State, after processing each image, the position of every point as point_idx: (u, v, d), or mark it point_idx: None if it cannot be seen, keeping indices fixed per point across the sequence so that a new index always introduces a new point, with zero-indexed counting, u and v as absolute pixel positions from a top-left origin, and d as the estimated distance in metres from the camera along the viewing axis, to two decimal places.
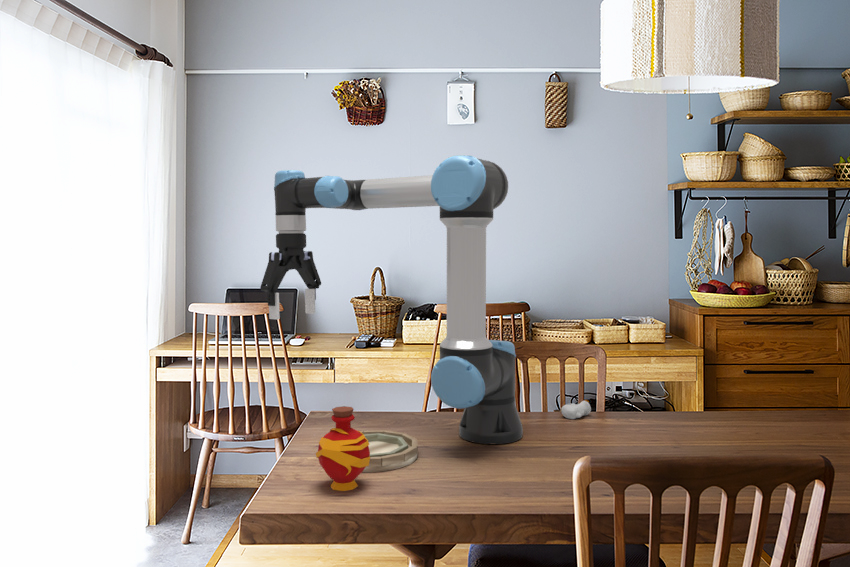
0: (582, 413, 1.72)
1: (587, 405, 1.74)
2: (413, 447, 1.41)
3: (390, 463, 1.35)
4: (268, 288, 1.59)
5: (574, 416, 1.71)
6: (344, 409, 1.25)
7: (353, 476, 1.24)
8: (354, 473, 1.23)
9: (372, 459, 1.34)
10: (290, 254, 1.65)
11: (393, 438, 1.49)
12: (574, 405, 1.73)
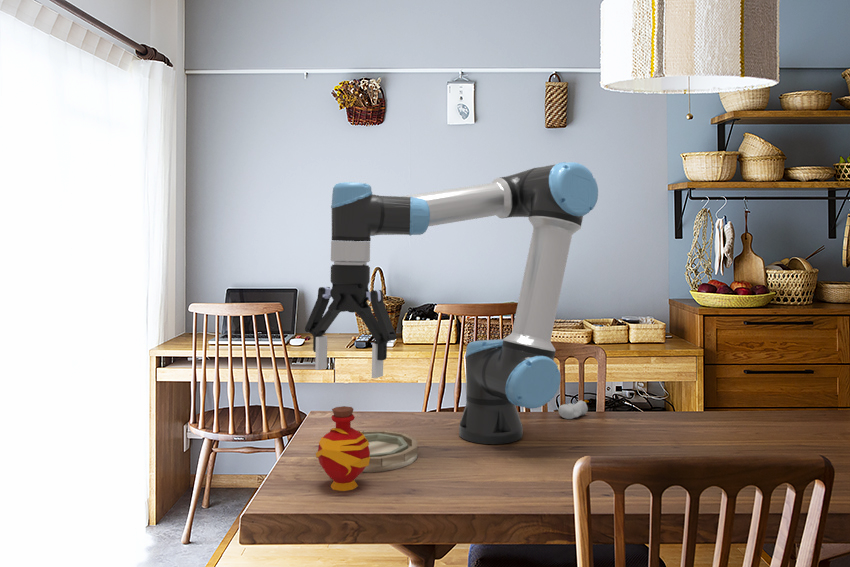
0: (579, 413, 1.72)
1: (584, 405, 1.74)
2: (413, 447, 1.41)
3: (390, 463, 1.35)
4: (305, 329, 1.32)
5: (572, 416, 1.71)
6: (344, 409, 1.25)
7: (353, 476, 1.24)
8: (354, 473, 1.23)
9: (372, 459, 1.34)
10: (339, 291, 1.27)
11: (393, 438, 1.49)
12: (571, 405, 1.73)
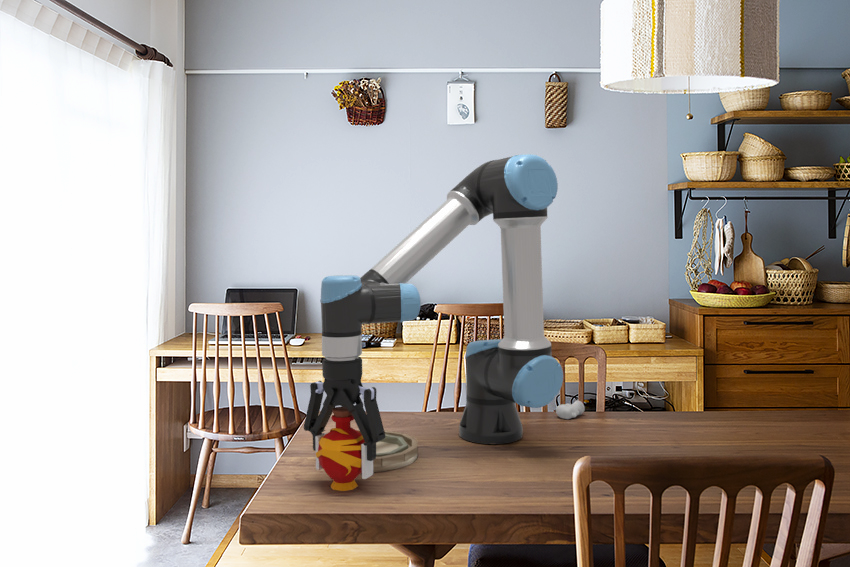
0: (577, 413, 1.72)
1: (581, 405, 1.74)
2: (413, 447, 1.41)
3: (390, 463, 1.35)
4: (304, 428, 1.29)
5: (569, 416, 1.71)
6: (344, 409, 1.25)
7: (353, 476, 1.24)
8: (354, 473, 1.23)
9: None
10: (331, 384, 1.25)
11: (393, 438, 1.49)
12: (569, 405, 1.73)
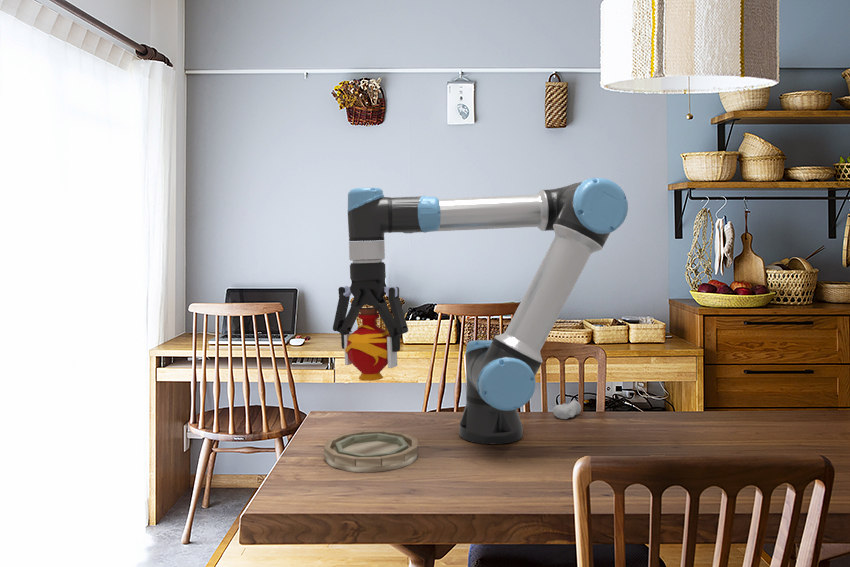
0: (574, 413, 1.72)
1: (578, 405, 1.74)
2: (413, 447, 1.41)
3: (390, 463, 1.35)
4: (333, 328, 1.43)
5: (567, 416, 1.71)
6: (370, 308, 1.40)
7: (379, 367, 1.39)
8: (380, 364, 1.38)
9: (372, 459, 1.34)
10: (358, 286, 1.40)
11: (393, 438, 1.49)
12: (566, 405, 1.73)
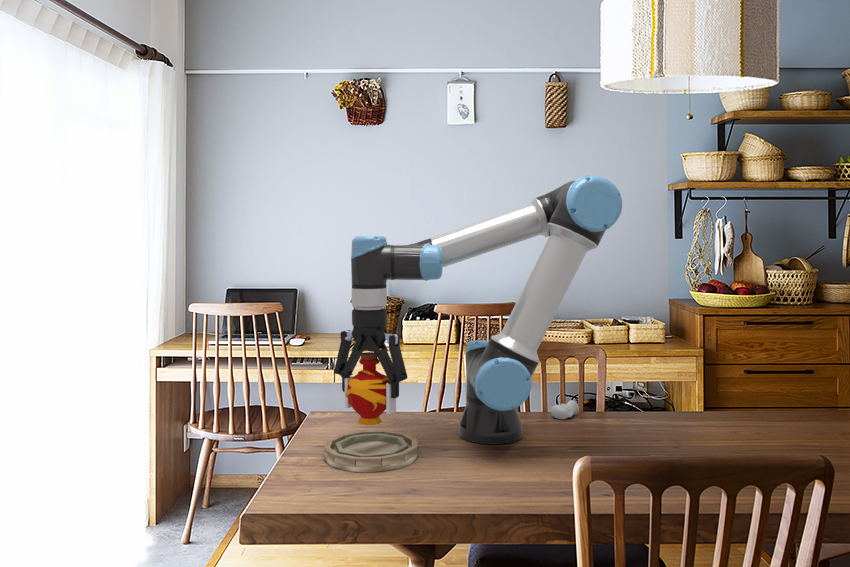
0: (572, 413, 1.72)
1: (575, 404, 1.74)
2: (413, 447, 1.41)
3: (390, 463, 1.35)
4: (334, 371, 1.46)
5: (565, 416, 1.71)
6: (370, 354, 1.42)
7: (378, 412, 1.41)
8: (379, 409, 1.40)
9: (372, 459, 1.34)
10: (360, 331, 1.42)
11: (393, 438, 1.49)
12: (564, 405, 1.73)
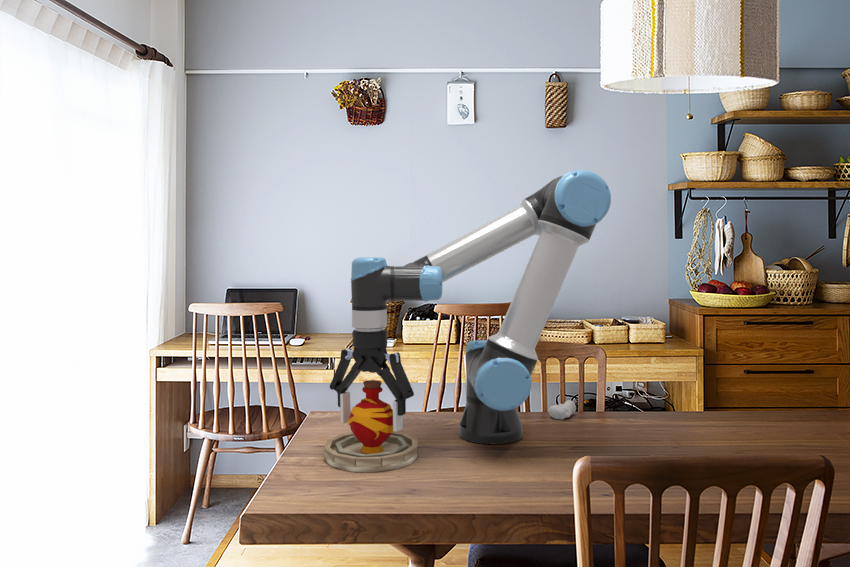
0: (570, 413, 1.72)
1: (573, 404, 1.75)
2: (413, 447, 1.41)
3: (390, 463, 1.35)
4: (330, 387, 1.47)
5: (564, 416, 1.71)
6: (373, 382, 1.43)
7: (380, 441, 1.41)
8: (381, 438, 1.41)
9: (372, 459, 1.34)
10: (360, 354, 1.42)
11: (393, 438, 1.49)
12: (562, 405, 1.73)
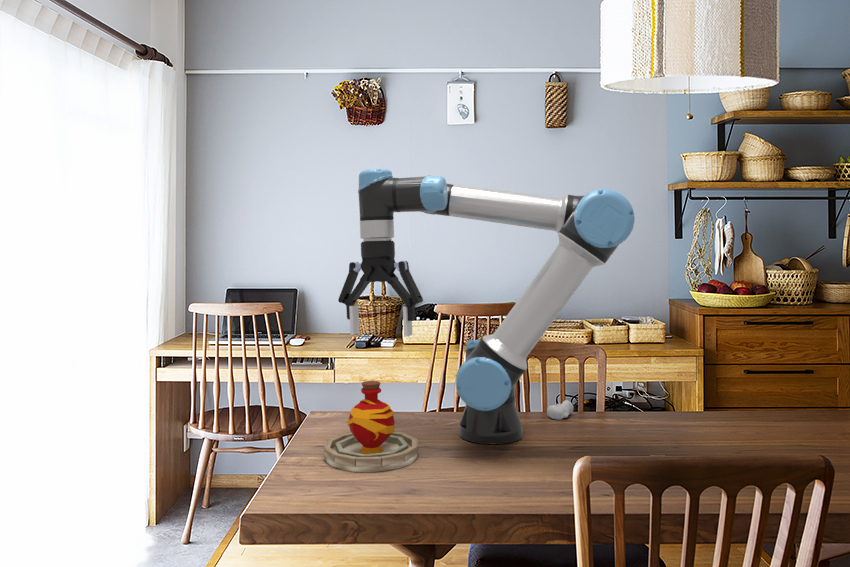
0: (568, 413, 1.72)
1: (570, 404, 1.75)
2: (413, 447, 1.41)
3: (390, 463, 1.35)
4: (339, 300, 1.51)
5: (562, 416, 1.71)
6: (372, 383, 1.42)
7: (380, 441, 1.41)
8: (381, 439, 1.40)
9: (372, 459, 1.34)
10: (369, 264, 1.47)
11: (393, 438, 1.49)
12: (560, 405, 1.72)
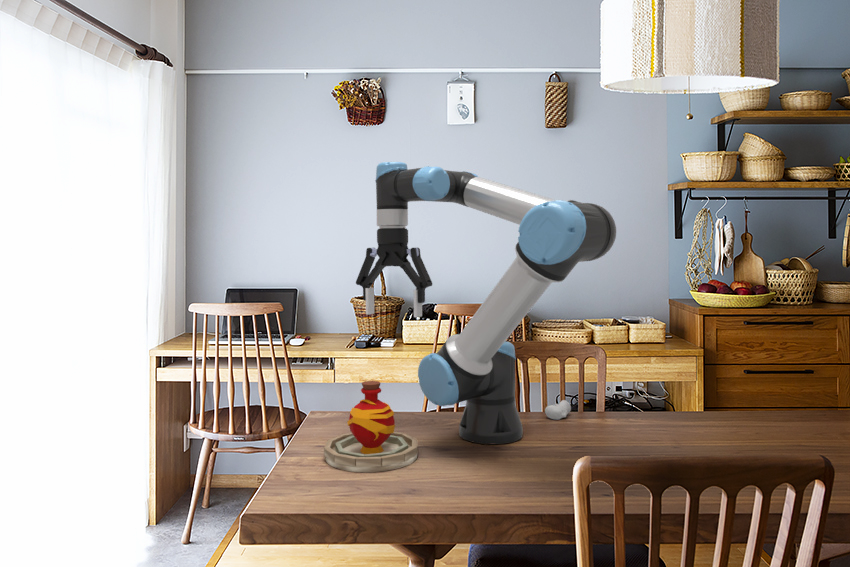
0: (566, 413, 1.72)
1: (568, 404, 1.75)
2: (413, 447, 1.41)
3: (390, 463, 1.35)
4: (356, 282, 1.63)
5: (560, 416, 1.71)
6: (372, 383, 1.42)
7: (380, 441, 1.41)
8: (381, 439, 1.40)
9: (372, 459, 1.34)
10: (384, 250, 1.59)
11: (393, 438, 1.49)
12: (558, 405, 1.72)
